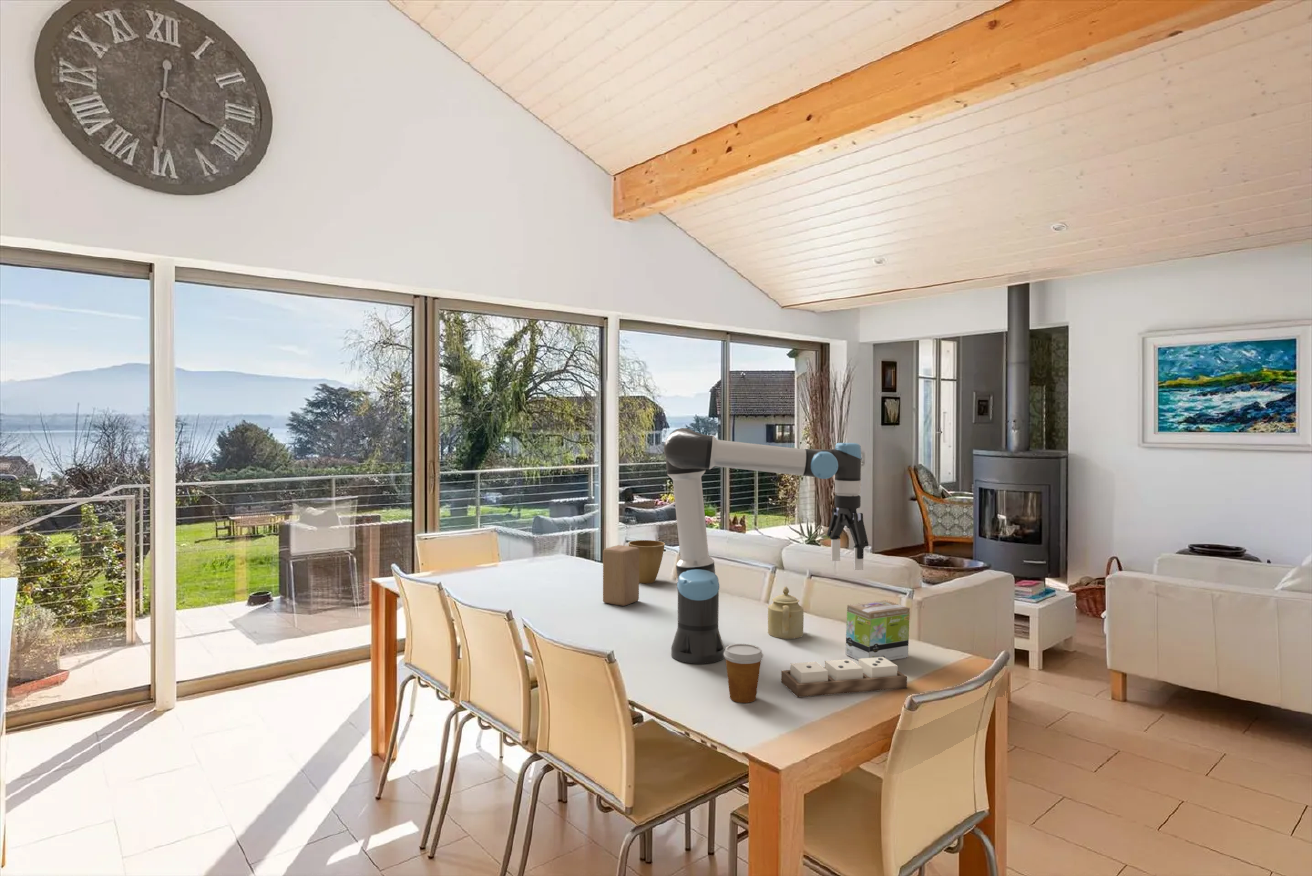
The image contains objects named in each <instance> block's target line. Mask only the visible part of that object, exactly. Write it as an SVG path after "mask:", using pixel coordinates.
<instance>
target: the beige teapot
mask: <svg viewBox="0 0 1312 876" xmlns="http://www.w3.org/2000/svg"><path fill="white" fill-rule="evenodd" d="M782 593H783V594H779V595H776V596H775V597H773V598H772V603H771V604H769V605H768V606H767V633H768V635H769V636H771V637H773V638H777V639H784V640H785V639H786V640H790V639H793V640H794V638H795V639H799V638H802V637H803V636H804V613H805V612H804V607H803V606H802V605H800V604H799V602H800V600H799V599H798V598H796V597H795V596H794V595H790V594H789V593H790V589H789V588H788V586H784V587H783V589H782Z"/></svg>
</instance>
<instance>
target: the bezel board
mask: <svg viewBox="0 0 1312 876" xmlns="http://www.w3.org/2000/svg"><path fill="white" fill-rule="evenodd" d="M824 668H825V666H824ZM780 676H781V677H780V679H781V681H780V682H781V684H783V685H784V687H786V688H787V689H788V691H790V692H791V693H792V694H793V695H794V696H796V697H797V698H803V697H804V698H807V697H819V696H820V697H821V696H831V695H842V694H844V695H845V694H853V693H854V694H855V693H856V694H857V693H867V692H879V691H890V690H891V691H892V690H903V689H904V690H905V689H908V676H907V675H905V674H904V673H902V672H901V671H899V670H897V676H889V677H876V678H870V677H869V676H867V675H866V674H864V673H863V679H850V680H837V681H836V680H834V679H833V678H832V677H830V676H829V675H828V681H824V682H812V683H799V682H798V681H797V680H795V679H794V678H793V677H792V676H791V675H790V669H786V670H781V671H780Z"/></svg>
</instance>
